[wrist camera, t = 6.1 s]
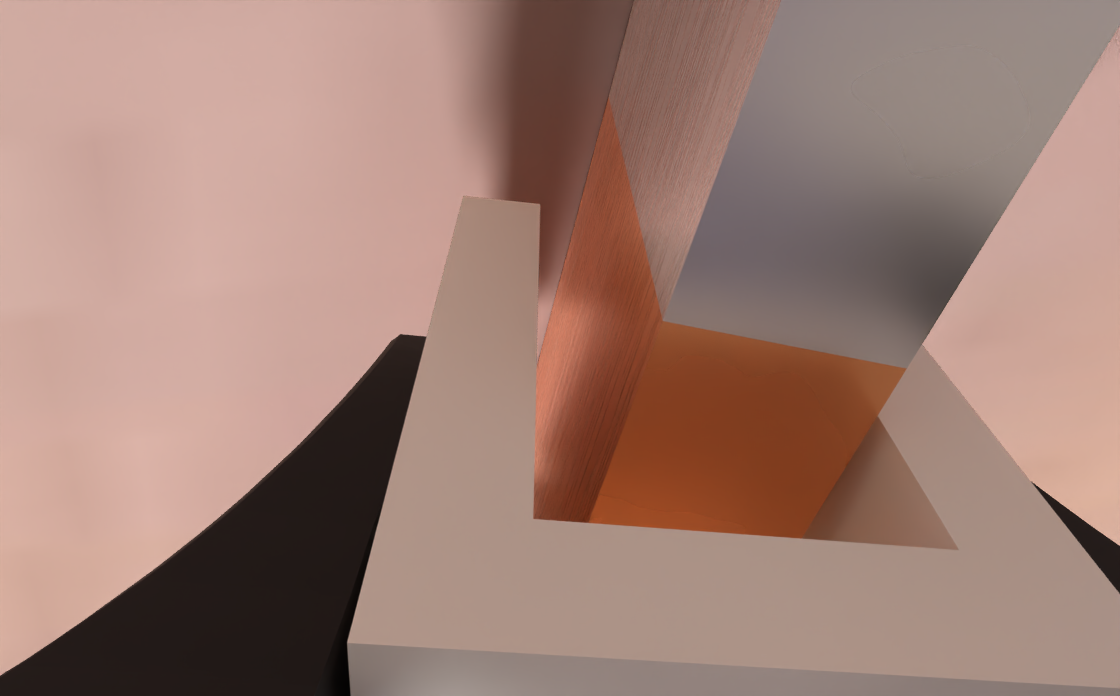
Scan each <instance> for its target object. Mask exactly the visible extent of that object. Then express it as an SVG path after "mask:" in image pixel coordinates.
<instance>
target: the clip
mask: <svg viewBox="0 0 1120 696" xmlns="http://www.w3.org/2000/svg"><path fill="white" fill-rule="evenodd" d="M539 237H540V204H535V203H526V202H517V201H507V200H498V199H489V198H479V197H470V196H463V199H462V203H461V206H460V210H459V214H458V218H457V222H456V226H455V230H454V233H453V237H452V241H451V245H450V249H449V253H448V256H447V260H446V264H445V268H444V272H443V276H442V280H441V283H440V287H439V291H438V295H437V299H436V303H435V306H434V310H433V314H432V318H431V322H430V326H429V330H428V333H427V337H426V341H425V345H424V349H423V353H422V356H421V360H420V364H419V368H418V372H417V376H416V380H415V383H414V387H413V391H412V395H411V399H410V403H409V407H408V410H407V414H406V418H405V422H404V426H403V430H402V433H401V437H400V441H399V445H398V449H397V453H396V457H395V460H394V464H393V468H392V472H391V476H390V480H389V483H388V487H387V491H386V495H385V499H384V503H383V507H382V510H381V514H380V518H379V522H378V526H377V530H376V533H375V537H374V541H373V545H372V549H371V553H370V557H369V560H368V564H367V568H366V572H365V576H364V580H363V583H362V587H361V591H360V595H359V599H358V603H357V607H356V610H355V614H354V618H353V622H352V626H351V630H350V634H349V637H348V641H347V649H348V664H349V678H350V693H351V696H1120V594H1119V592H1118V591H1117V590H1116V589H1115V587H1114V586H1113V585H1112V583H1111V582H1110V581H1109V580H1108V578H1107V577H1106V576H1105V575H1104V573H1103V572H1102V571H1101V570H1100V568H1099V567H1098V566H1097V565H1096V563H1095V562H1094V561H1093V560H1092V558H1091V557H1090V556H1089V554H1088V553H1087V552H1086V551H1085V549H1084V548H1083V547H1082V546H1081V544H1080V543H1079V542H1078V541H1077V539H1076V538H1075V537H1074V536H1073V534H1072V533H1071V532H1070V530H1069V529H1068V528H1067V527H1066V525H1065V524H1064V523H1063V522H1062V520H1061V519H1060V518H1059V517H1058V515H1057V514H1056V513H1055V511H1054V510H1053V509H1052V508H1051V506H1050V505H1049V504H1048V503H1047V501H1046V500H1045V499H1044V498H1043V496H1042V495H1041V494H1040V493H1039V491H1038V490H1037V489H1036V488H1035V486H1034V485H1033V484H1032V482H1031V481H1030V480H1029V479H1028V477H1027V476H1026V475H1025V474H1024V472H1023V471H1022V470H1021V469H1020V467H1019V466H1018V465H1017V464H1016V462H1015V461H1014V460H1013V458H1012V457H1011V456H1010V455H1009V453H1008V452H1007V451H1006V450H1005V448H1004V447H1003V446H1002V445H1001V443H1000V442H999V441H998V439H997V438H996V437H995V436H994V434H993V433H992V432H991V431H990V429H989V428H988V427H987V426H986V424H985V423H984V422H983V421H982V419H981V418H980V417H979V416H978V414H977V413H976V412H975V410H974V409H973V408H972V407H971V405H970V404H969V403H968V402H967V400H966V399H965V398H964V397H963V395H962V394H961V393H960V391H959V390H958V389H957V388H956V386H955V385H954V384H953V383H952V381H951V380H950V379H949V378H948V376H947V375H946V374H945V373H944V371H943V370H942V369H941V367H940V366H939V365H938V364H937V362H936V361H935V360H934V359H933V357H932V356H931V355H930V354H929V352H928V351H927V350H926V349H925V347H924V346H923V345H921V347H920V348H919V350H918V351H917V353H916V355H915V356H914V358H913V360H912V361H911V363H910V364H909V366H908V368H907V369H906V371H905V372H904V374H903V376H902V377H901V379H900V381H899V382H898V384H897V385H896V387H895V389H894V390H893V392H892V393H891V395H890V397H889V398H888V400H887V402H886V403H885V405H884V406H883V408H882V410H881V411H880V413H879V414H878V416H877V418H876V419H875V421H874V423H873V424H872V426H871V427H870V429H869V431H868V432H867V434H866V435H865V437H864V439H863V440H862V442H861V443H860V445H859V447H858V448H857V450H856V452H855V453H854V455H853V456H852V458H851V460H850V461H849V463H848V464H847V466H846V468H845V469H844V471H843V473H842V474H841V476H840V477H839V479H838V481H837V482H836V484H835V485H834V487H833V489H832V490H831V492H830V494H829V495H828V497H827V498H826V500H825V502H824V503H823V505H822V506H821V508H820V510H819V511H818V513H817V515H816V516H815V518H814V519H813V521H812V523H811V524H810V526H809V527H808V529H807V531H806V532H805V534H804V535H803V537H802V539H800V538H786V537H773V536H759V535H745V534H732V533H718V532H704V531H691V530H677V529H663V528H649V527H636V526H622V525H608V524H595V523H581V522H567V521H554V520H540V519H533V508H534V463H535V418H536V373H537V328H538V282H539Z"/></svg>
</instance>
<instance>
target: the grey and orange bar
mask: <svg viewBox="0 0 1120 696" xmlns="http://www.w3.org/2000/svg"><path fill="white" fill-rule="evenodd" d="M1119 25H1120V0H634V2H633V6H632V10H631V14H630V17H629V21H628V25H627V29H626V33H625V36H624V40H623V44H622V48H621V51H620V55H619V59H618V63H617V66H616V70H615V74H614V78H613V82H612V85H611V89H610V93H609V97H608V100H607V104H606V108H605V112H604V115H603V119H602V123H601V127H600V131H599V134H598V138H597V142H596V146H595V149H594V153H593V157H592V161H591V164H590V168H589V172H588V176H587V180H586V183H585V187H584V191H583V195H582V198H581V202H580V206H579V210H578V213H577V217H576V221H575V225H574V229H573V232H572V236H571V240H570V244H569V247H568V251H567V255H566V259H565V262H564V266H563V270H562V274H561V278H560V281H559V285H558V289H557V293H556V296H555V300H554V304H553V308H552V311H551V315H550V319H549V323H548V327H547V330H546V334H545V338H544V342H543V345H542V349H541V353H540V357H539V360H538V364H537V373H536V418H535V463H534V508H533V519H540V520H554V521H567V522H581V523H595V524H608V525H622V526H636V527H649V528H663V529H677V530H691V531H704V532H718V533H732V534H745V535H759V536H773V537H786V538H800V539H802V537H803V535H804V534H805V532H806V531H807V529H808V527H809V526H810V524H811V523H812V521H813V519H814V518H815V516H816V515H817V513H818V511H819V510H820V508H821V506H822V505H823V503H824V502H825V500H826V498H827V497H828V495H829V494H830V492H831V490H832V489H833V487H834V485H835V484H836V482H837V481H838V479H839V477H840V476H841V474H842V473H843V471H844V469H845V468H846V466H847V464H848V463H849V461H850V460H851V458H852V456H853V455H854V453H855V452H856V450H857V448H858V447H859V445H860V443H861V442H862V440H863V439H864V437H865V435H866V434H867V432H868V431H869V429H870V427H871V426H872V424H873V423H874V421H875V419H876V418H877V416H878V414H879V413H880V411H881V410H882V408H883V406H884V405H885V403H886V402H887V400H888V398H889V397H890V395H891V393H892V392H893V390H894V389H895V387H896V385H897V384H898V382H899V381H900V379H901V377H902V376H903V374H904V372H905V371H906V369H907V368H908V366H909V364H910V363H911V361H912V360H913V358H914V356H915V355H916V353H917V351H918V350H919V348H920V347H921V345H922V343H923V342H924V340H925V339H926V337H927V335H928V334H929V332H930V330H931V329H932V327H933V326H934V324H935V322H936V321H937V319H938V318H939V316H940V314H941V313H942V311H943V310H944V308H945V306H946V305H947V303H948V301H949V300H950V298H951V297H952V295H953V293H954V292H955V290H956V289H957V287H958V285H959V284H960V282H961V280H962V279H963V277H964V276H965V274H966V272H967V271H968V269H969V268H970V266H971V264H972V263H973V261H974V259H975V258H976V256H977V255H978V253H979V251H980V250H981V248H982V247H983V245H984V243H985V242H986V240H987V238H988V237H989V235H990V234H991V232H992V230H993V229H994V227H995V226H996V224H997V222H998V221H999V219H1000V218H1001V216H1002V214H1003V213H1004V211H1005V209H1006V208H1007V206H1008V205H1009V203H1010V201H1011V200H1012V198H1013V197H1014V195H1015V193H1016V192H1017V190H1018V188H1019V187H1020V185H1021V184H1022V182H1023V180H1024V179H1025V177H1026V176H1027V174H1028V172H1029V171H1030V169H1031V167H1032V166H1033V164H1034V163H1035V161H1036V159H1037V158H1038V156H1039V155H1040V153H1041V151H1042V150H1043V148H1044V146H1045V145H1046V143H1047V142H1048V140H1049V138H1050V137H1051V135H1052V134H1053V132H1054V130H1055V129H1056V127H1057V125H1058V124H1059V122H1060V121H1061V119H1062V117H1063V116H1064V114H1065V113H1066V111H1067V109H1068V108H1069V106H1070V105H1071V103H1072V101H1073V100H1074V98H1075V96H1076V95H1077V93H1078V92H1079V90H1080V88H1081V87H1082V85H1083V84H1084V82H1085V80H1086V79H1087V77H1088V75H1089V74H1090V72H1091V71H1092V69H1093V67H1094V66H1095V64H1096V63H1097V61H1098V59H1099V58H1100V56H1101V54H1102V53H1103V51H1104V50H1105V48H1106V46H1107V45H1108V43H1109V42H1110V40H1111V38H1112V37H1113V35H1114V33H1115V32H1116V30H1117V29H1118V27H1119Z"/></svg>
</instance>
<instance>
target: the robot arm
mask: <svg viewBox="0 0 1120 696" xmlns="http://www.w3.org/2000/svg"><path fill="white" fill-rule="evenodd" d="M425 341H426V337H424V336H413V335H402V334H400V335H399V336H398V337H396V338H395V339H394V340H392V341H391V342H390V343H389V345H388V346H387V347H386V349H385V350H384V351H383V352H382V354H381V355H380V356H379V357H378V359H377V360H376V361H375V362H374V363H373V365H372V366H371V367H370V368H369V370H368V371H367V372H366V373H365V374H364V375H363V377H362V378H361V379H360V380H359V381H358V382H357V383H356V385H355V386H354V387H353V388H352V389H351V390H350V391H349V392H348V394H347V395H346V396H345V397H344V398H343V399H342V400H341V401H340V402H339V404H338V405H337V406H336V407H335V408H334V409H333V410H332V411H331V412H330V413H329V414H328V415H327V416H326V417H325V418H324V419H323V420H322V421H321V422H320V423H319V424H318V426H317V427H316V428H315V429H314V430H313V431H312V432H311V433H310V434H309V435H308V436H307V437H306V438H305V439H304V440H303V441H302V442H301V443H300V444H299V445H298V446H297V447H296V448H295V449H294V450H293V451H292V452H291V453H290V454H289V455H288V456H287V457H285V458H284V459H283V460H282V461H281V462H280V463H279V464H278V465H277V466H276V467H275V468H274V469H273V470H271V471H270V472H269V473H268V474H267V475H266V476H265V477H264V478H263V479H262V480H261V481H260V482H259V483H258V484H256V485H255V486H254V487H253V488H252V489H251V490H250V491H249V492H248V493H247V494H246V495H245V496H243V497H242V498H241V499H240V500H239V501H238V502H237V503H235V504H234V505H233V506H232V507H231V508H230V509H228V510H227V511H226V512H225V513H224V514H223V515H221V516H220V517H219V518H218V519H217V520H216V521H214V522H213V523H212V524H211V525H210V526H208V527H207V528H206V529H205V530H203V531H202V532H201V533H200V534H199V535H197V536H196V537H195V538H194V539H192V540H191V541H190V542H189V543H187V544H186V545H185V546H183V547H182V548H181V549H180V550H178V551H177V552H176V553H175V554H173V555H172V556H171V557H170V558H168V559H167V560H166V561H164V562H163V563H162V564H161V565H159V566H158V567H157V568H155V569H154V570H153V571H151V572H150V573H149V574H147V575H146V576H145V577H143V578H142V579H140V580H139V581H138V582H136V583H135V584H134V585H132V586H131V587H129V588H128V589H127V590H125V591H124V592H122V593H121V594H120V595H118V596H117V597H116V598H114V599H113V600H111V601H110V602H109V603H107V604H106V605H104V606H103V607H102V608H100V609H99V610H98V611H96V612H95V613H93V614H92V615H91V616H89V617H88V618H87V619H85V620H84V621H82V622H81V623H79V624H78V625H76V626H75V627H74V628H72V629H71V630H69V631H68V632H66V633H65V634H63V635H62V636H60V637H59V638H58V639H56V640H55V641H53V642H52V643H50V644H49V645H47V646H46V647H44V648H43V649H41V650H40V651H38V652H37V653H35V654H34V655H32V656H31V657H29V658H28V659H26V660H25V661H23V662H21V663H20V664H18V665H17V666H15V667H13V668H12V669H10V670H9V671H7V672H5V673H4V674H2V675H1V676H0V696H351V693H350V678H349V664H348V649H347V641H348V637H349V634H350V630H351V626H352V622H353V618H354V614H355V610H356V607H357V603H358V599H359V595H360V591H361V587H362V583H363V580H364V576H365V572H366V568H367V564H368V560H369V557H370V553H371V549H372V545H373V541H374V537H375V533H376V530H377V526H378V522H379V518H380V514H381V510H382V507H383V503H384V499H385V495H386V491H387V487H388V483H389V480H390V476H391V472H392V468H393V464H394V460H395V457H396V453H397V449H398V445H399V441H400V437H401V433H402V430H403V426H404V422H405V418H406V414H407V410H408V407H409V403H410V399H411V395H412V391H413V387H414V383H415V380H416V376H417V372H418V368H419V364H420V360H421V356H422V353H423V349H424V345H425ZM1032 484H1033V485H1034V486H1035V488H1036V489H1037V490H1038V491H1039V493H1040V494H1041V495H1042V496H1043V498H1044V499H1045V500H1046V501H1047V503H1048V504H1049V505H1050V506H1051V508H1052V509H1053V510H1054V511H1055V513H1056V514H1057V515H1058V517H1059V518H1060V519H1061V520H1062V522H1063V523H1064V524H1065V525H1066V527H1067V528H1068V529H1069V530H1070V532H1071V533H1072V534H1073V536H1074V537H1075V538H1076V539H1077V541H1078V542H1079V543H1080V544H1081V546H1082V547H1083V548H1084V549H1085V551H1086V552H1087V553H1088V554H1089V556H1090V557H1091V558H1092V560H1093V561H1094V562H1095V563H1096V565H1097V566H1098V567H1099V568H1100V570H1101V571H1102V572H1103V573H1104V575H1105V576H1106V577H1107V578H1108V580H1109V581H1110V582H1111V583H1112V585H1113V586H1114V587H1115V589H1116V590H1117V591H1118V592H1119V594H1120V546H1119V545H1118V544H1116V543H1115V542H1113V541H1112V540H1110V539H1109V538H1107V537H1106V536H1105V535H1103V534H1102V533H1100V532H1099V531H1097V530H1096V529H1095V528H1093V527H1092V526H1090V525H1089V524H1088V523H1086V522H1085V521H1084V520H1082V519H1081V518H1080V517H1078V516H1077V515H1075V514H1074V513H1073V512H1071V511H1070V510H1069V509H1067V508H1066V507H1064V506H1063V505H1062V504H1060V503H1059V502H1058V501H1056V500H1055V499H1054V498H1052V497H1051V496H1050V495H1048V494H1047V493H1046V492H1044V491H1043V490H1042V489H1040V488H1039V487H1038V486H1036V485H1035V484H1034V483H1032Z"/></svg>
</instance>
